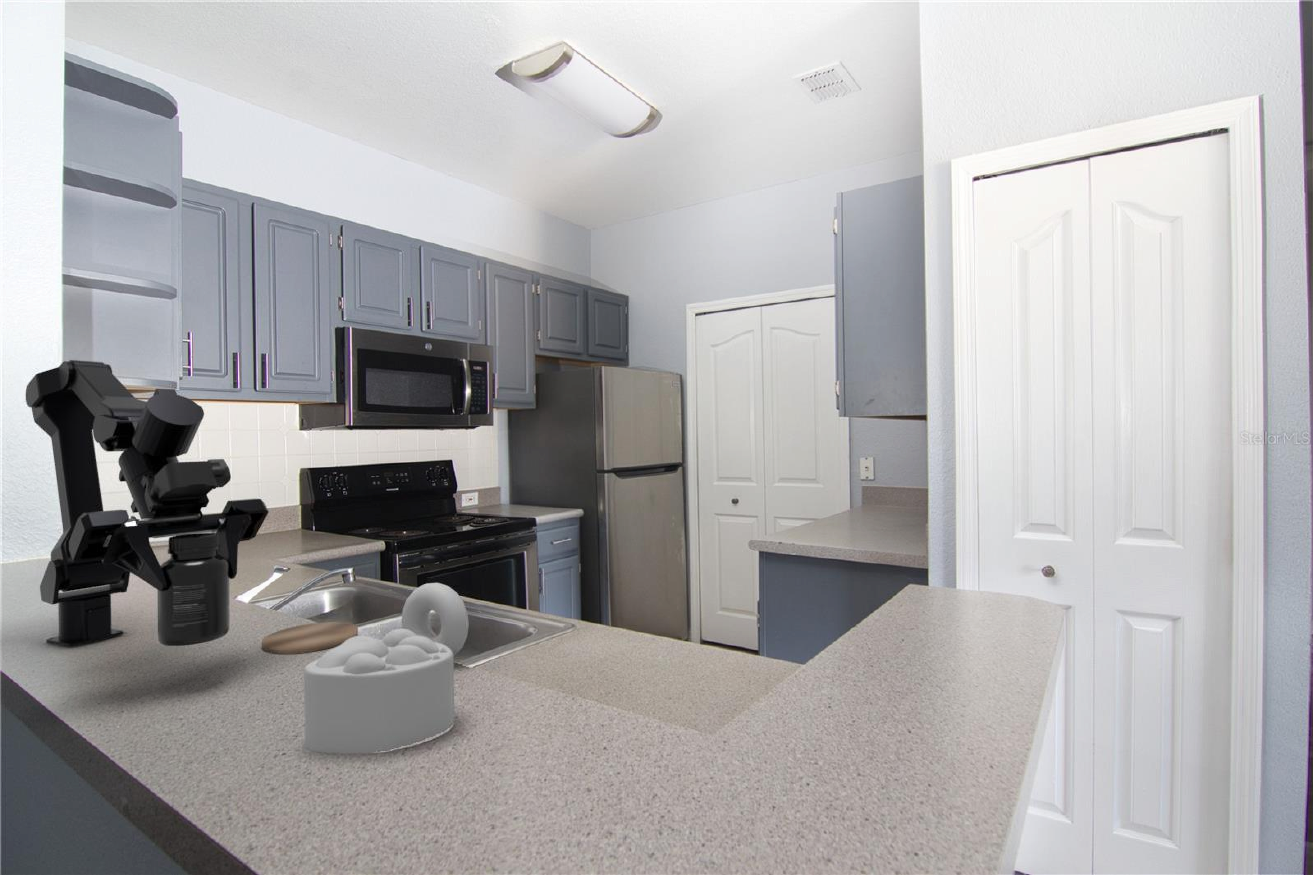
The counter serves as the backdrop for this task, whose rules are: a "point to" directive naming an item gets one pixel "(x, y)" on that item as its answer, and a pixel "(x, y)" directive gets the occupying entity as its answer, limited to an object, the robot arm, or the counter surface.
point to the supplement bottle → (194, 592)
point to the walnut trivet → (309, 638)
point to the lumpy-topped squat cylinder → (378, 694)
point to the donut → (447, 610)
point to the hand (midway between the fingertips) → (200, 582)
